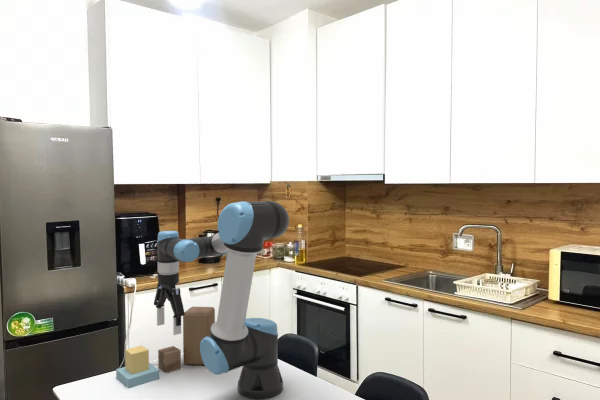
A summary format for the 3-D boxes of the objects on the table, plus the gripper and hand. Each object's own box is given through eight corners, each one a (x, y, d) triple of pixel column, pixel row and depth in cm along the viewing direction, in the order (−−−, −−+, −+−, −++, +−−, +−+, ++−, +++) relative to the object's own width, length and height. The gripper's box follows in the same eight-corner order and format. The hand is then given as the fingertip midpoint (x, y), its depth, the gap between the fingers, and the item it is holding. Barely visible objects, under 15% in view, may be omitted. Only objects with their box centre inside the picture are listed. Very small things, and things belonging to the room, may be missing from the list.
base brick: (159, 378, 154) (159, 370, 154) (128, 388, 146) (128, 379, 146) (146, 368, 162) (146, 360, 162) (116, 377, 154) (116, 369, 154)
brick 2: (180, 368, 162) (180, 350, 162) (165, 373, 158) (165, 354, 158) (173, 363, 166) (173, 345, 166) (158, 368, 162) (158, 349, 162)
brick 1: (148, 369, 154) (148, 349, 154) (132, 374, 150) (131, 354, 150) (142, 364, 158) (141, 345, 158) (125, 369, 154) (125, 349, 154)
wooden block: (215, 355, 174) (215, 306, 173) (208, 366, 164) (207, 313, 163) (191, 355, 175) (191, 305, 174) (182, 365, 165) (182, 313, 164)
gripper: (194, 276, 154) (194, 335, 155) (163, 266, 173) (163, 319, 174) (174, 279, 149) (174, 340, 150) (144, 268, 168) (145, 323, 169)
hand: (168, 329), depth 162 cm, fingers open, 13 cm apart
